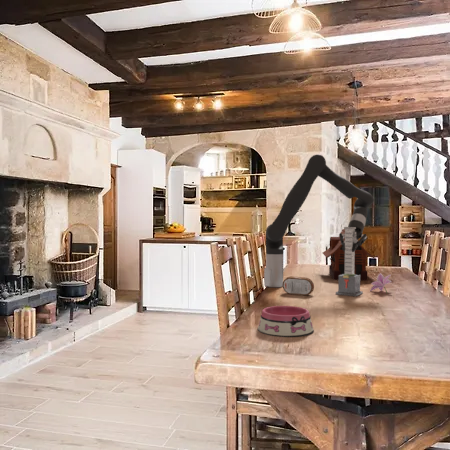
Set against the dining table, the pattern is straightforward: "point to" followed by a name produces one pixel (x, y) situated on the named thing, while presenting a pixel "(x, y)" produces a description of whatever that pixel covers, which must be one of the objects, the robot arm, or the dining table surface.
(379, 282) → the lily
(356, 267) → the house
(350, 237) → the column
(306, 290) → the tin
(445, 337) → the dining table surface
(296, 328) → the dog bowl
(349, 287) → the stand housing
